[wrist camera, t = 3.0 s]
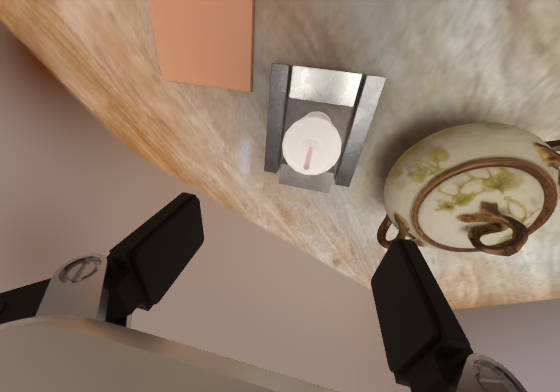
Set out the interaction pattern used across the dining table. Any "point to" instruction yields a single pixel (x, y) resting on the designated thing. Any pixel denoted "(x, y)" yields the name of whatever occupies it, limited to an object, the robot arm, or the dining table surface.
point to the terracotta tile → (205, 41)
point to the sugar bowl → (472, 189)
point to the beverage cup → (312, 144)
